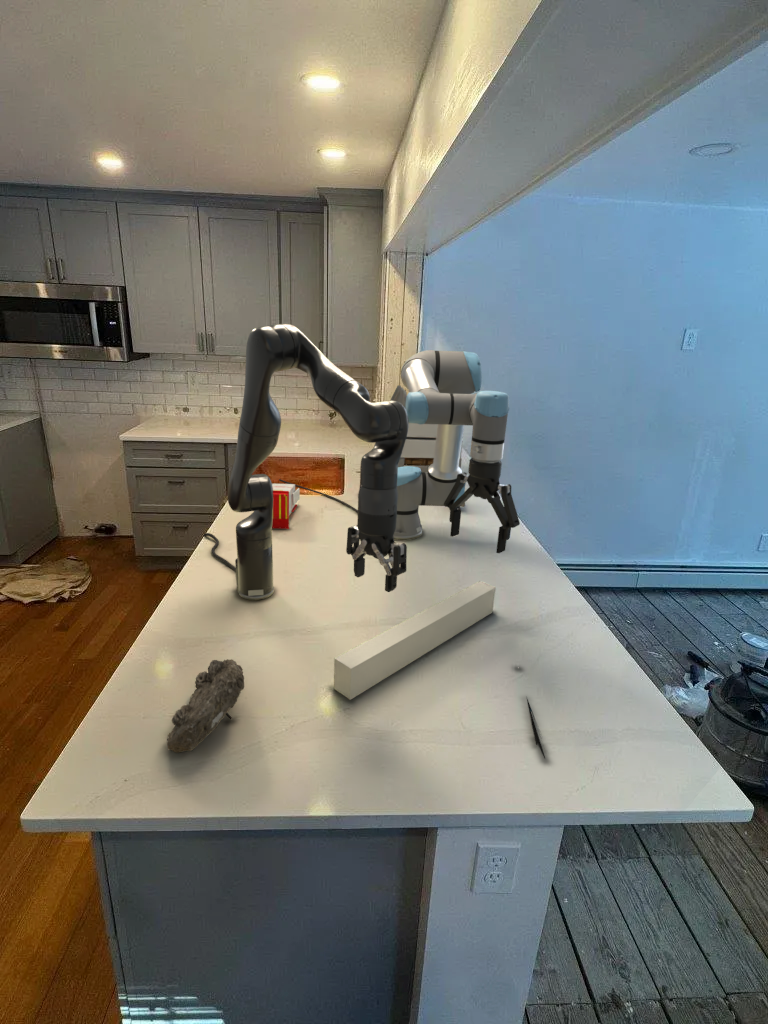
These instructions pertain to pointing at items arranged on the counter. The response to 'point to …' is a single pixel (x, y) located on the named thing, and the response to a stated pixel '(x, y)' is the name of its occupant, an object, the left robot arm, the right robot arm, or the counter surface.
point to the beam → (410, 639)
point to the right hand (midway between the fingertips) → (476, 543)
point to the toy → (284, 504)
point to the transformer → (417, 439)
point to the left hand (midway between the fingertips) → (374, 583)
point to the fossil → (206, 705)
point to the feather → (535, 728)
